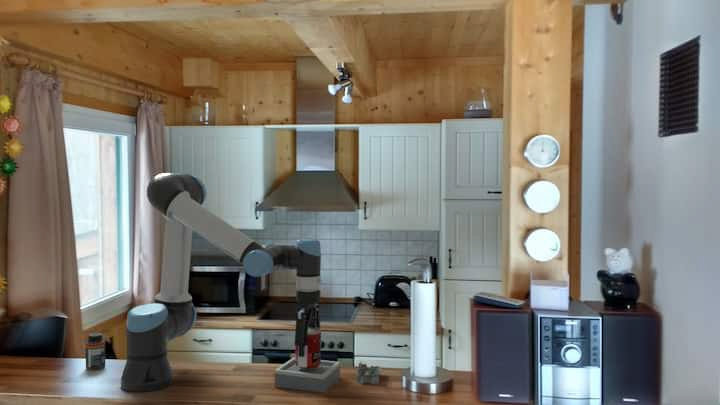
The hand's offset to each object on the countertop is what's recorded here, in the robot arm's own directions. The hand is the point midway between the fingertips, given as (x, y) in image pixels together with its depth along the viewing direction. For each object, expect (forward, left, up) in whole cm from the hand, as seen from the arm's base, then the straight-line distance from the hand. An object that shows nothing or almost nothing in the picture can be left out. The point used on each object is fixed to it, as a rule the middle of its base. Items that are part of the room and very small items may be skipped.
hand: (307, 362), depth 176 cm
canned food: (0, 0, -1) cm, 1 cm away
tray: (0, 0, -6) cm, 6 cm away
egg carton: (+17, +9, -7) cm, 21 cm away
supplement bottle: (-72, -10, -6) cm, 73 cm away
